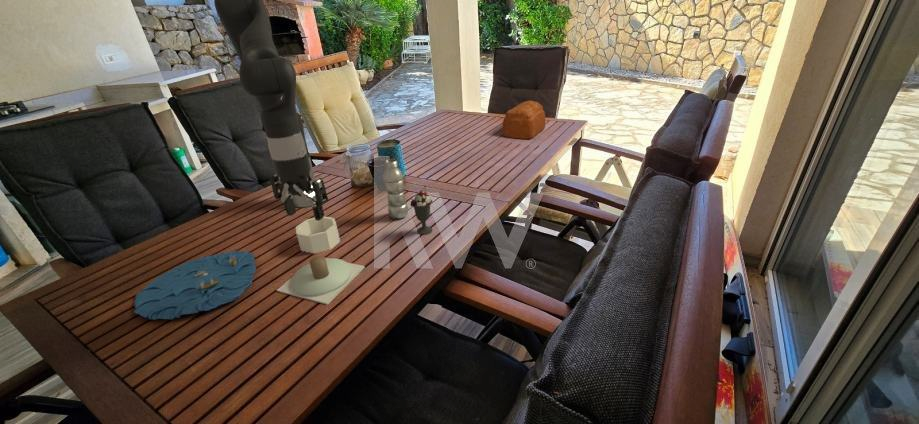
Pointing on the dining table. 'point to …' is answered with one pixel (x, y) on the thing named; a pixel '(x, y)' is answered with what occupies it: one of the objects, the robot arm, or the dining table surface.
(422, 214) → the sundae
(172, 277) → the decorative plate
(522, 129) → the bread
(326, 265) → the lid
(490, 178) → the dining table surface
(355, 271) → the mat
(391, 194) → the plastic bottle
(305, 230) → the bowl
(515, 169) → the dining table surface
